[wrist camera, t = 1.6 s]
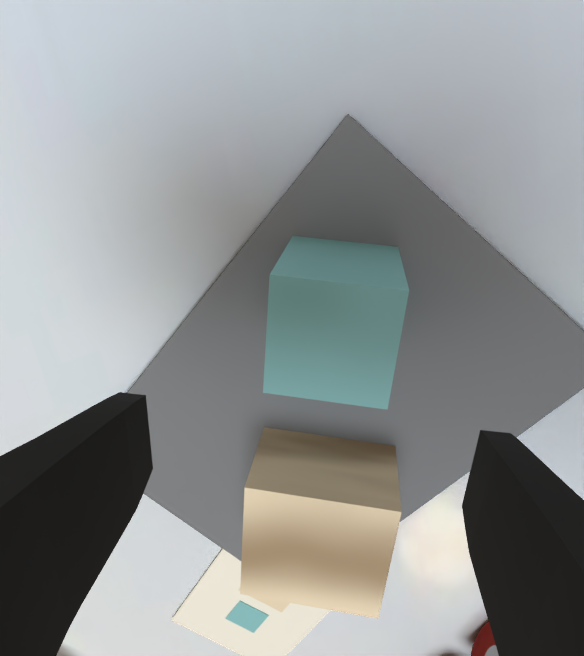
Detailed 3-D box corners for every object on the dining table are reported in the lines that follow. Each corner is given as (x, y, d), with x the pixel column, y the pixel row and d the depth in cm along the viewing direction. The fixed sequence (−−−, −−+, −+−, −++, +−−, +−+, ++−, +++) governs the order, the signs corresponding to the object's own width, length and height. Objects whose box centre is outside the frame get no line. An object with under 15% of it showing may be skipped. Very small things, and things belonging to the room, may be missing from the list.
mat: (348, 114, 17) (347, 114, 17) (613, 358, 19) (618, 363, 19) (85, 445, 25) (81, 450, 24) (295, 592, 27) (294, 598, 27)
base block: (264, 426, 22) (244, 487, 19) (395, 446, 22) (401, 511, 18) (258, 524, 25) (239, 594, 21) (376, 543, 24) (378, 618, 21)
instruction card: (245, 517, 25) (244, 520, 25) (359, 577, 26) (359, 580, 26) (172, 617, 29) (170, 621, 29) (272, 668, 30) (271, 671, 30)
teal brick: (293, 235, 19) (269, 274, 14) (397, 247, 18) (409, 290, 14) (285, 330, 20) (262, 392, 16) (382, 342, 20) (387, 409, 15)
